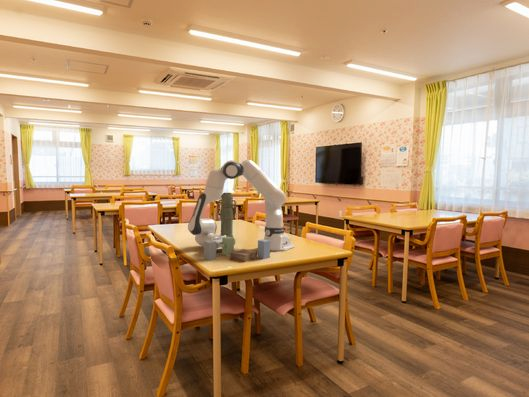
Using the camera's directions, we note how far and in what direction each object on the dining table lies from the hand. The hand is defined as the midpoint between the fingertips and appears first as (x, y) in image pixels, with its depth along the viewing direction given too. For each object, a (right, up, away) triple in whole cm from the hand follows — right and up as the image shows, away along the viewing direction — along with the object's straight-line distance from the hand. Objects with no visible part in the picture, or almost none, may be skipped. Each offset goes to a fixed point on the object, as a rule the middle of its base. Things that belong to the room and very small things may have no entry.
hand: (229, 245), depth 206 cm
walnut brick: (+9, -7, -8) cm, 14 cm away
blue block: (+21, -6, -5) cm, 22 cm away
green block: (-1, -5, +1) cm, 6 cm away
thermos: (-4, -4, +28) cm, 28 cm away
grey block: (-10, -6, -11) cm, 16 cm away
